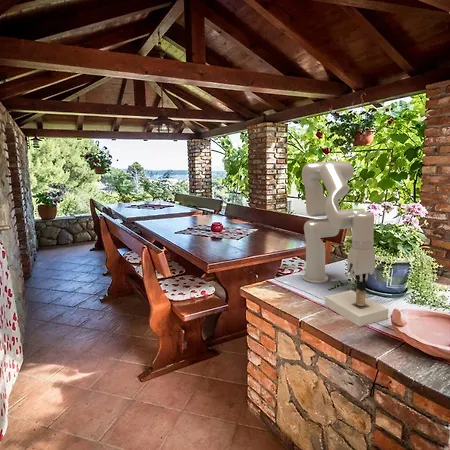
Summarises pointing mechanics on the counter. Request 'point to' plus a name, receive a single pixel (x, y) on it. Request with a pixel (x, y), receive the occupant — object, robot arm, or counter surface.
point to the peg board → (347, 308)
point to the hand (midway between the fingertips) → (361, 289)
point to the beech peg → (360, 299)
